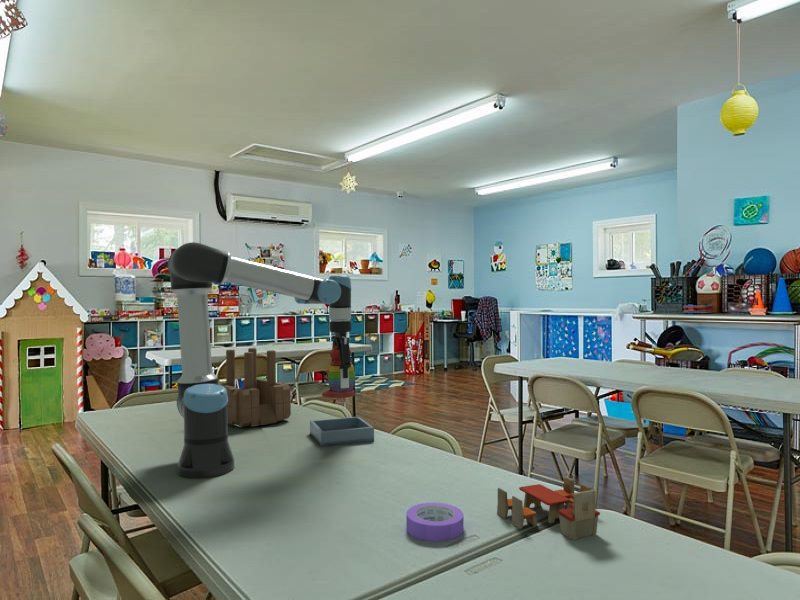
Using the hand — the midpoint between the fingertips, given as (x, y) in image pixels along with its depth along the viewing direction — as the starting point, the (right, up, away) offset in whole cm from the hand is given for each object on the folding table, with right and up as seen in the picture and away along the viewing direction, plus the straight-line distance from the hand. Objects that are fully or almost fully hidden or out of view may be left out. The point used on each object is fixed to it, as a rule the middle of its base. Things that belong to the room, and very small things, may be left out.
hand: (341, 385), depth 185 cm
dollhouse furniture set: (+53, -18, -72) cm, 91 cm away
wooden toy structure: (-40, -18, +32) cm, 54 cm away
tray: (0, -18, 0) cm, 18 cm away
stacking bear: (0, -4, 0) cm, 4 cm away
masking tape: (+27, -18, -75) cm, 82 cm away
